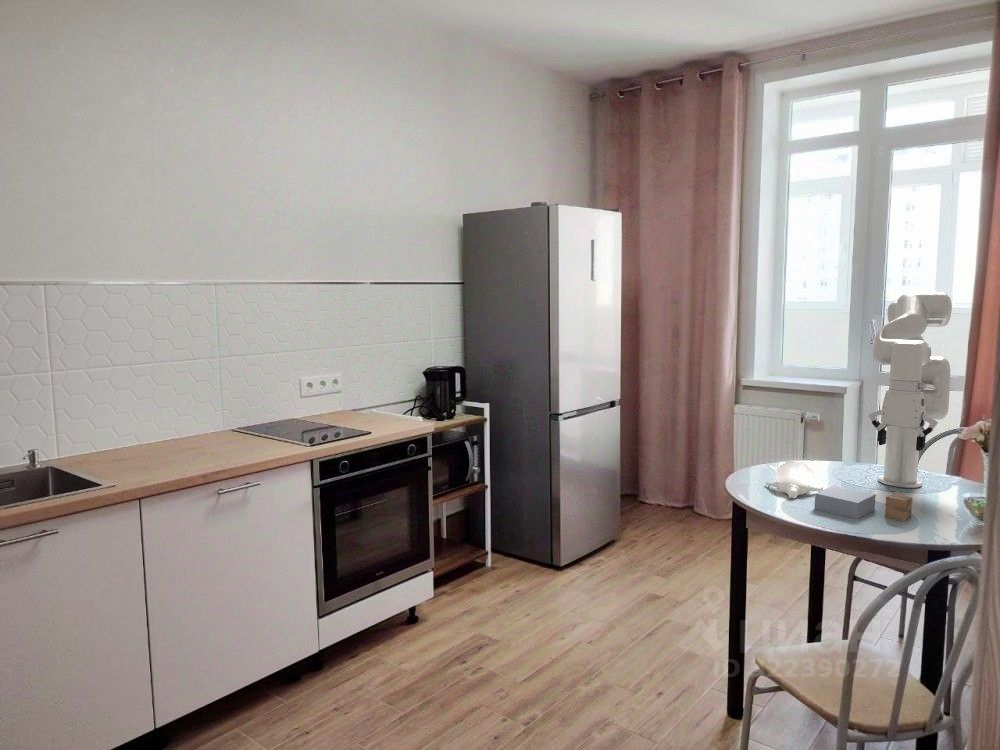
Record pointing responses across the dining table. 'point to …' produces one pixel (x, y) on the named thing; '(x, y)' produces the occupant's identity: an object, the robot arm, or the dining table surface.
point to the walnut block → (898, 507)
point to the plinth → (845, 502)
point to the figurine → (794, 479)
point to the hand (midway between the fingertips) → (900, 447)
